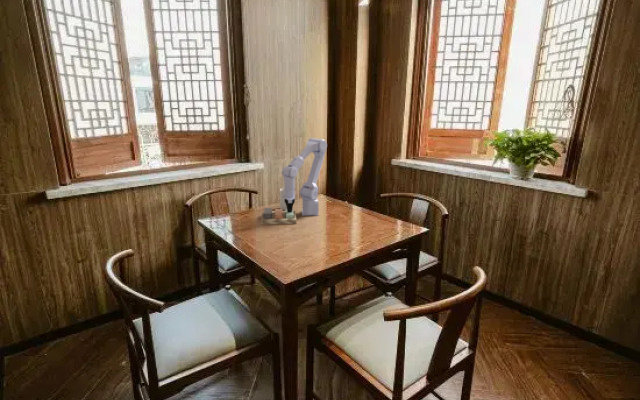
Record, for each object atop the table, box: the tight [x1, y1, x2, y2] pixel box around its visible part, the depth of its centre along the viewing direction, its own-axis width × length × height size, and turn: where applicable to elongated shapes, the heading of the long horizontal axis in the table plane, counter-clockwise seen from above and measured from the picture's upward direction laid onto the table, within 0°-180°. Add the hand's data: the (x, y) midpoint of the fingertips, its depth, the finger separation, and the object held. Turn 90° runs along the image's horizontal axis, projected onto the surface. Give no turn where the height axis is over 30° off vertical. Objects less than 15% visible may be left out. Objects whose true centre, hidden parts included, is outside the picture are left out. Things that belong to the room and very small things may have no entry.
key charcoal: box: [263, 207, 273, 219], centre depth 193 cm, size 4×11×4 cm, turn 7°
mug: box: [279, 187, 296, 211], centre depth 212 cm, size 10×7×12 cm, turn 69°
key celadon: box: [285, 208, 294, 219], centre depth 194 cm, size 4×11×4 cm, turn 7°
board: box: [260, 210, 297, 225], centre depth 194 cm, size 19×15×2 cm
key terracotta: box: [274, 208, 283, 219], centre depth 194 cm, size 4×11×4 cm, turn 7°
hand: (289, 212), depth 194 cm, fingers closed, pressing on key celadon
